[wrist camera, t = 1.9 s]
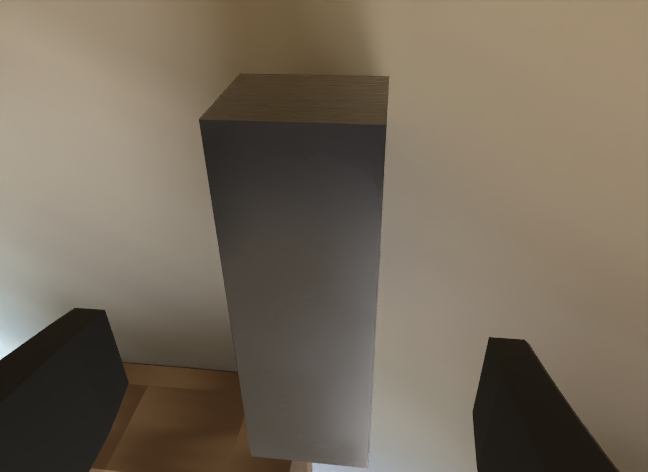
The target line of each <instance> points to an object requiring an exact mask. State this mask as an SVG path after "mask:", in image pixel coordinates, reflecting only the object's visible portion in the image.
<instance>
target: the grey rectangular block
mask: <svg viewBox="0 0 648 472" xmlns="http://www.w3.org/2000/svg"><path fill="white" fill-rule="evenodd" d="M388 86H389V76H339V75H287V74H239V76H238V77H237V78H236V79H235V80H234V81H233V82H232V83H231V84H230V86H229V87H228V88H227V89H226V90H225V91H224V92H223V93H222V94H221V96H220V97H219V98H218V99H217V100H216V101H215V102H214V103H213V104H212V106H211V107H210V108H209V109H208V110H207V111H206V112H205V113H204V114H203V116H202V117H201V118H200V119H199V122H200V129H201V135H202V142H203V148H204V155H205V161H206V168H207V174H208V181H209V187H210V194H211V200H212V207H213V213H214V220H215V226H216V233H217V239H218V245H219V252H220V258H221V265H222V271H223V278H224V284H225V291H226V297H227V304H228V310H229V317H230V323H231V330H232V336H233V343H234V349H235V356H236V362H237V368H238V375H239V381H240V388H241V394H242V401H243V407H244V414H245V420H246V427H247V433H248V440H249V446H250V453H251V456H254V457H264V458H274V459H284V460H293V461H303V462H313V463H323V464H333V465H342V466H352V467H362V468H368V462H369V443H370V424H371V405H372V387H373V368H374V349H375V330H376V312H377V293H378V274H379V256H380V237H381V218H382V199H383V180H384V162H385V143H386V124H387V105H388Z"/></svg>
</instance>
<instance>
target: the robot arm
mask: <svg viewBox="0 0 648 472" xmlns="http://www.w3.org/2000/svg"><path fill="white" fill-rule="evenodd" d="M128 384H129V382H128V379H127V376H126V373H125V370H124V367H123V364H122V360H121V357H120V354H119V351H118V348H117V345H116V342H115V339H114V336H113V333H112V330H111V327H110V324H109V321H108V318H107V315H106V312H105V310H97V309H83V308H74V309H73V310H71V311H70V312H68V313H67V314H65V315H64V316H62V317H61V318H59V319H58V320H56V321H55V322H53V323H52V324H50V325H49V326H48V327H46V328H45V329H43V330H42V331H40V332H39V333H38V334H36V335H35V336H33V337H32V338H31V339H29V340H28V341H26V342H25V343H24V344H22V345H21V346H19V347H18V348H17V349H15V350H14V351H12V352H11V353H10V354H8V355H7V356H5V357H4V358H3V359H1V360H0V472H89V471H90V469H91V467H92V465H93V463H94V461H95V460H96V458H97V456H98V454H99V452H100V450H101V448H102V446H103V444H104V442H105V441H106V439H107V437H108V435H109V433H110V430H111V428H112V425H113V423H114V421H115V418H116V416H117V413H118V411H119V408H120V405H121V403H122V400H123V397H124V394H125V392H126V389H127V386H128ZM473 424H474V437H475V449H476V461H477V470H478V472H619V471H618V469H617V468H616V467H615V466H614V464H613V463H612V462H611V461H610V459H609V458H608V457H607V455H606V454H605V453H604V451H603V450H602V449H601V447H600V446H599V444H598V443H597V442H596V440H595V439H594V438H593V436H592V435H591V434H590V432H589V431H588V430H587V428H586V427H585V426H584V424H583V423H582V422H581V420H580V419H579V417H578V416H577V415H576V413H575V412H574V411H573V409H572V408H571V406H570V405H569V403H568V402H567V400H566V399H565V398H564V396H563V395H562V393H561V392H560V390H559V389H558V387H557V386H556V384H555V383H554V382H553V380H552V379H551V377H550V376H549V374H548V373H547V371H546V370H545V368H544V367H543V365H542V363H541V362H540V360H539V359H538V357H537V356H536V354H535V353H534V351H533V350H532V348H531V346H530V345H529V344H528V343H527V342H526V341H525V340H520V339H506V338H492V337H489V340H488V345H487V349H486V354H485V358H484V363H483V367H482V372H481V376H480V381H479V386H478V390H477V395H476V399H475V404H474V408H473Z"/></svg>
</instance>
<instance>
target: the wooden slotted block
mask: <svg viewBox="0 0 648 472" xmlns="http://www.w3.org/2000/svg"><path fill="white" fill-rule="evenodd" d="M122 364H123V367H124V370H125V373H126V376H127V379H128V382H129V384H128V386H127V389H126V392H125V394H124V397H123V400H122V403H121V405H120V408H119V411H118V413H117V416H116V418H115V421H114V423H113V425H112V428H111V430H110V433H109V435H108V437H107V439H106V441H105V442H104V444H103V446H102V448H101V450H100V452H99V454H98V456H97V458H96V460H95V461H94V463H93V465H92V467H91V469H90V471H89V472H312V462H303V461H293V460H284V459H274V458H264V457H254V456H251V453H250V446H249V440H248V433H247V427H246V420H245V414H244V407H243V401H242V394H241V388H240V381H239V375H238V372H226V371H214V370H202V369H191V368H179V367H167V366H155V365H143V364H131V363H122Z"/></svg>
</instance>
